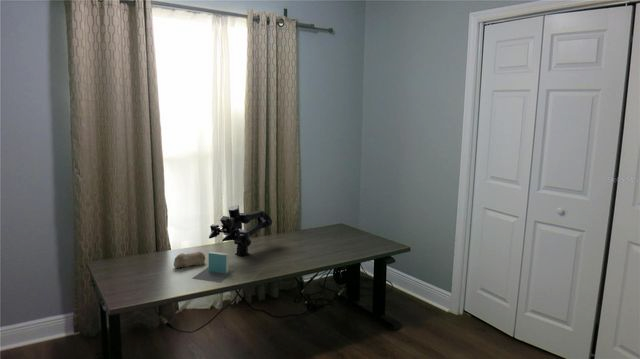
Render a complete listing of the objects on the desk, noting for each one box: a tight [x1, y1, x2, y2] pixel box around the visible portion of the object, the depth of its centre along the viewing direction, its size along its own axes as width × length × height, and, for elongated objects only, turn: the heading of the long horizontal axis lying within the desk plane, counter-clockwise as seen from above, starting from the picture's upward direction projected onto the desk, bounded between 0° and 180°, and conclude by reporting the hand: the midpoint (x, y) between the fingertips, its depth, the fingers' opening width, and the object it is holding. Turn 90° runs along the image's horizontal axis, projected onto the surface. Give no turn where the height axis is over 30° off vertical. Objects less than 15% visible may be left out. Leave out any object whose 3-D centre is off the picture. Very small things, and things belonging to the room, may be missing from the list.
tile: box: [208, 251, 230, 274], centre depth 236 cm, size 3×10×10 cm, turn 76°
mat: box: [191, 266, 236, 283], centre depth 233 cm, size 18×16×1 cm
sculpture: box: [173, 251, 206, 269], centre depth 244 cm, size 9×17×10 cm
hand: (215, 239), depth 244 cm, fingers open, 9 cm apart
